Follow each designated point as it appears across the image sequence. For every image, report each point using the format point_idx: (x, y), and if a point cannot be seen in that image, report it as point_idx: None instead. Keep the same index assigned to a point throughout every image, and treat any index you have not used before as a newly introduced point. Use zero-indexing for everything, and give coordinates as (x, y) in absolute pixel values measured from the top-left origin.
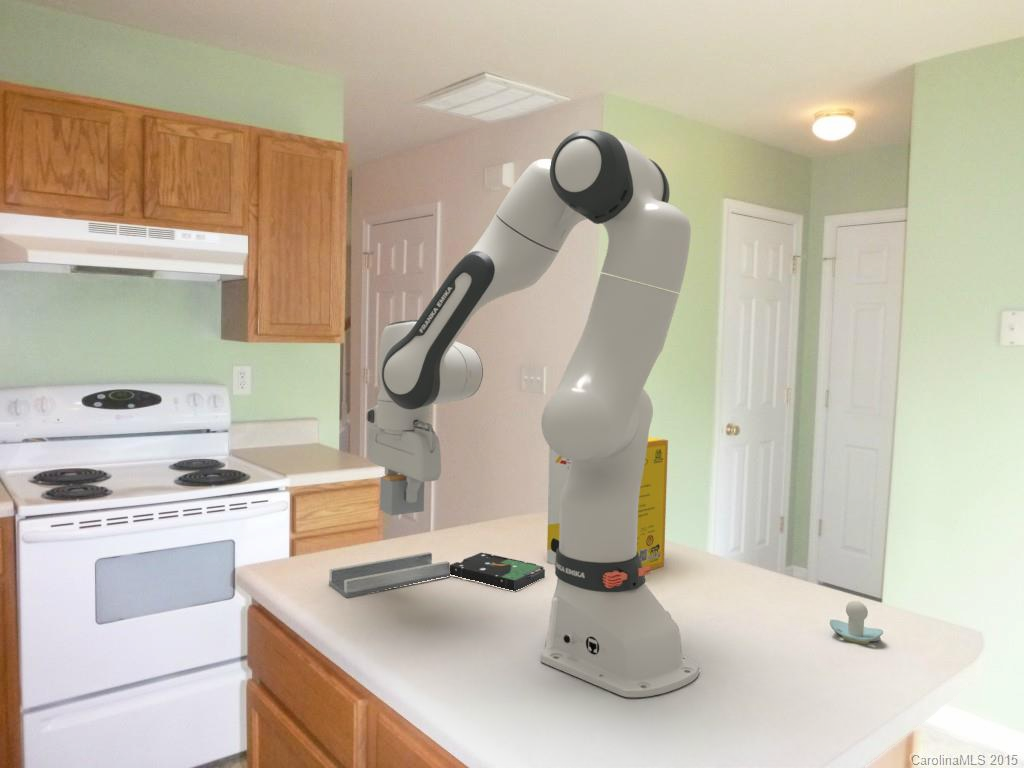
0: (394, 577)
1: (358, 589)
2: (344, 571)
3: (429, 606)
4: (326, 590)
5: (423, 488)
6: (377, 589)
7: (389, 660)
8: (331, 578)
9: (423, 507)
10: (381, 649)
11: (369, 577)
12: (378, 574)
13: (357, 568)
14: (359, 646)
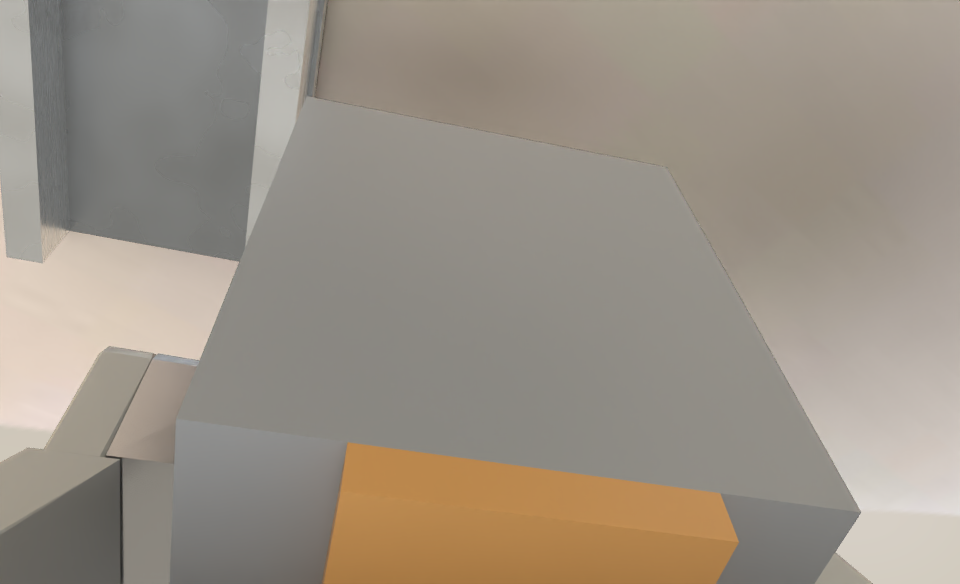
0: (314, 4)
1: None
2: (45, 182)
3: (703, 35)
4: (122, 263)
5: (765, 371)
6: None
7: (919, 469)
8: (60, 240)
9: (676, 192)
10: (838, 443)
11: None
12: (272, 111)
13: (39, 101)
14: None
